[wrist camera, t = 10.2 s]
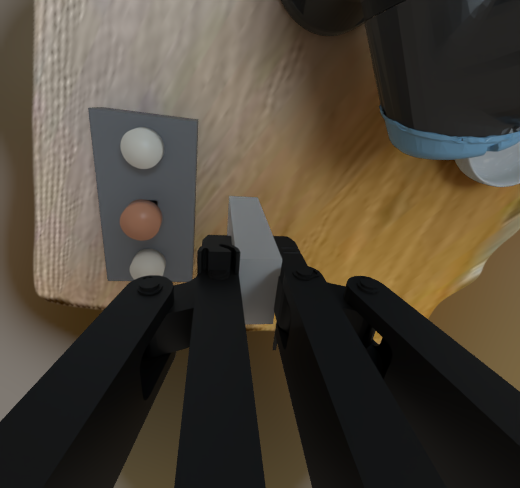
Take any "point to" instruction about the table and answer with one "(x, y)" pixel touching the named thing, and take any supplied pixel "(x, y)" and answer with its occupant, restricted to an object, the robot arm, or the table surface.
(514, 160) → the cereal bowl
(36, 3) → the table surface
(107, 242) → the knob panel
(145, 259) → the cream knob
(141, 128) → the cream knob
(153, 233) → the rust knob middle
